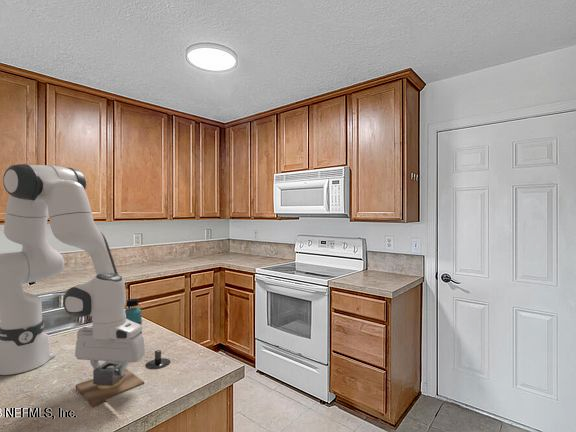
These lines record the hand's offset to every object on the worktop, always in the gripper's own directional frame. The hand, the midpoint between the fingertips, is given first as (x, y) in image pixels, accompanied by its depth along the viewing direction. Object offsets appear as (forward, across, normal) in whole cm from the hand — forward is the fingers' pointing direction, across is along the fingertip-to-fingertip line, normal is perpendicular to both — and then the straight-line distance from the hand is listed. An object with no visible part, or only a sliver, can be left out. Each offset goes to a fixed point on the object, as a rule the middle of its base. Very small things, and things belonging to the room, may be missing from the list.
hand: (110, 374), depth 97 cm
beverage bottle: (+4, -7, +23) cm, 24 cm away
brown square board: (+4, 0, 0) cm, 4 cm away
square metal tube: (+2, 0, 0) cm, 2 cm away
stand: (+4, +8, +14) cm, 17 cm away
